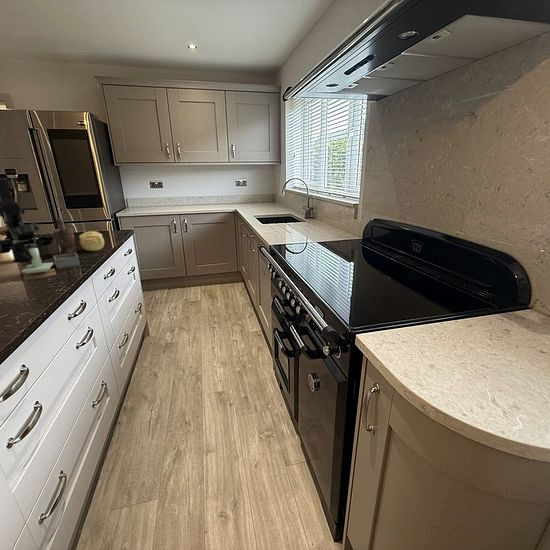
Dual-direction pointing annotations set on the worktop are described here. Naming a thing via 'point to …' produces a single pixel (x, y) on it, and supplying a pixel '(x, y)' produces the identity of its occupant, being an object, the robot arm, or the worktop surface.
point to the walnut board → (39, 274)
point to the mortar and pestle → (64, 237)
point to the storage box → (66, 260)
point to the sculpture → (92, 241)
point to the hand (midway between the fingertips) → (36, 258)
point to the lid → (36, 263)
